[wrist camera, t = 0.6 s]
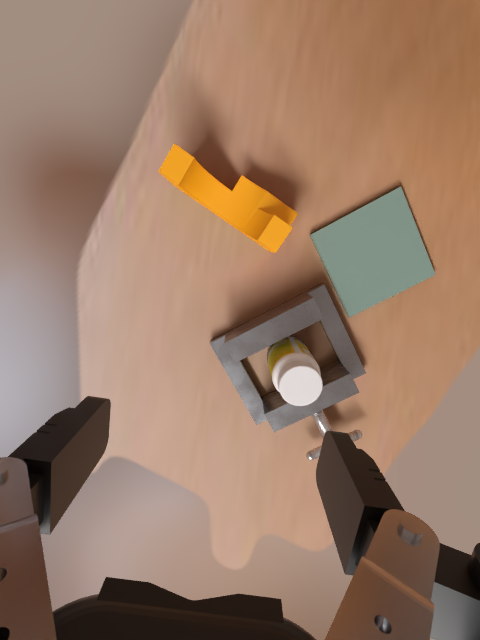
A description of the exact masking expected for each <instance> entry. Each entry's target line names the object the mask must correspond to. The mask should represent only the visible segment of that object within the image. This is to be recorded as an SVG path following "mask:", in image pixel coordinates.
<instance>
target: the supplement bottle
mask: <svg viewBox="0 0 480 640" xmlns="http://www.w3.org/2000/svg"><path fill="white" fill-rule="evenodd" d="M267 361H268V365H269V369H270V373H271V377H272V381H273V384H274V386H275V388H276V389H277V390H278V391H279V392H280V394H281V396H282V397H283V399H284V400H285V401H286V402H288V403H289V404H292V405H295V406H305V405H308V404H311V403H312V402H314V401H315V400H316V399H317V398H318V397H319V396H320V394H321V391H322V387H323V383H322V378H321V373H320V368H319V365H318V363H317V362H316V360H315V359H314V357H313V356H312V354H311V353H310V351H309V350H308V348H307V347H306V345H305V344H304V343H303V342H302V341H301V340H299V339H298V338H295V337H290V336H288V337H286V338H284V339H282V340H280V341H278V342H276V343H274V344H272V345H271V346H270V347H269V349H268V353H267Z"/></svg>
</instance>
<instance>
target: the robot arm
mask: <svg viewBox="0 0 480 640" xmlns="http://www.w3.org/2000/svg"><path fill="white" fill-rule="evenodd" d="M110 407H111V403H110V400H109V399H106V398H99V397H92V396H87V397H86V398H85V399H84V400H83V401H82V402H81V403H80V404H79V405H78V406H77V407H76V408H67V409H65V410H63V411H61V412H59V413H57V414H55V415H54V416H52V417H51V418H50V419H49V420H48V421H47V422H46V423H45V425H43V426H42V427H40V428H39V429H38V430H37V432H36V433H34V434H33V435H31V436H30V437H29V438H28V439H27V440H26V441H25V442H24V443H23V444H21V445H20V446H19V447H18V448H17V449H16V450H15V451H14V452H13V453H11V454H10V455H9V456H8V457H3V458H0V640H316V639H315V638H314V637H313V636H312V635H310V634H309V633H308V632H307V631H305V630H304V629H303V628H301V627H300V626H299V625H297V624H295V623H293V622H292V621H290V620H288V619H286V618H284V617H283V612H282V603H281V599H276V598H268V597H260V596H252V595H244V594H235V595H228V596H222V597H216V598H209V599H203V600H196V601H193V600H188V599H186V598H184V597H182V596H179V595H177V594H175V593H172V592H170V591H168V590H165V589H163V588H160V587H158V586H156V585H154V584H151V583H149V582H141V581H133V580H124V579H117V578H109V577H106V578H105V581H104V583H103V586H102V588H101V591H100V593H99V594H97V595H92V596H88V597H84V598H81V599H78V600H76V601H73V602H71V603H68V604H66V605H64V606H62V607H60V608H58V609H56V610H55V611H53V612H52V606H51V599H50V592H49V586H48V580H47V573H46V567H45V560H44V554H43V547H42V542H41V534H48V535H50V534H51V532H52V531H53V529H54V528H55V526H56V525H57V523H58V522H59V520H60V519H61V517H62V516H63V514H64V513H65V511H66V510H67V508H68V507H69V505H70V504H71V502H72V501H73V499H74V498H75V496H76V495H77V493H78V492H79V490H80V489H81V487H82V486H83V484H84V483H85V481H86V480H87V478H88V477H89V475H90V474H91V472H92V471H93V469H94V468H95V466H96V465H97V463H98V462H99V460H100V459H101V457H102V455H103V454H104V452H105V449H106V446H107V443H108V437H109V422H110ZM316 481H317V486H318V490H319V493H320V496H321V499H322V502H323V506H324V509H325V512H326V515H327V518H328V522H329V525H330V528H331V531H332V534H333V538H334V541H335V544H336V547H337V550H338V554H339V557H340V560H341V563H342V566H343V569H344V573H345V574H347V575H353V578H352V580H351V582H350V584H349V587H348V589H347V591H346V593H345V596H344V598H343V600H342V602H341V605H340V607H339V609H338V611H337V614H336V616H335V618H334V620H333V623H332V625H331V627H330V629H329V631H328V634H327V636H326V638H325V640H430V638H432V639H434V640H480V543H478V544H477V545H476V546H475V548H474V551H473V553H472V555H469V554H467V553H464V552H461V551H459V550H456V549H454V548H451V547H448V546H446V545H443V544H441V543H439V540H438V537H437V536H436V534H435V533H434V531H433V530H432V529H431V528H430V527H429V526H428V525H427V524H426V523H425V522H424V521H422V520H421V519H420V518H418V517H416V516H415V515H413V514H410V513H408V512H406V511H404V509H403V507H402V506H401V504H400V502H399V501H398V499H397V498H396V496H395V494H394V493H393V491H392V490H391V488H390V486H389V485H388V483H387V482H386V481H385V478H384V476H383V475H382V473H381V472H380V470H379V468H378V466H377V465H376V463H375V462H374V460H373V459H372V458H371V457H370V456H369V455H368V454H367V453H365V452H364V451H363V450H362V449H357V448H356V446H355V444H354V443H353V441H352V439H351V437H350V435H349V434H348V433H342V432H335V431H326V433H325V435H324V439H323V443H322V447H321V451H320V456H319V460H318V464H317V469H316Z"/></svg>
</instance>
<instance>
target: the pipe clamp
mask: <svg viewBox="0 0 480 640" xmlns="http://www.w3.org/2000/svg"><path fill="white" fill-rule="evenodd" d="M158 172H159V173H160V174H162V175H163V176H164V177H165V178H166V179H167V180H168V181H169V182H171V183H172V184H173V185H174V186H175V187H177V188H178V189H180V190H181V191H183V192H184V193H186V194H187V195H188V196H190V197H191V198H193V199H194V200H196V201H197V202H199V203H200V204H201V205H203V206H204V207H206V208H207V209H209V210H210V211H212V212H213V213H214V214H216V215H217V216H219V217H220V218H222V219H223V220H225V221H226V222H227V223H229V224H230V225H232V226H233V227H235V228H236V229H238V230H239V231H240V232H242V233H243V234H245V235H246V236H248V237H249V238H251V239H252V240H253V241H255V242H256V243H258V244H259V245H261V246H262V247H264V248H265V249H266V250H268V251H269V252H274V253H276V252H277V250H278V249H279V247H280V246H281V244H282V243H283V241H284V240H285V238H286V237H287V235H288V234H289V232H290V231H291V229H292V228H293V227H291V226H290V225H291V223H292V222H293V220H294V219H295V218H296V216H297V215H298V213H297V212H295V211H294V210H292V209H291V208H290V207H288V206H287V205H286V204H284V203H283V202H281V201H280V200H279V199H277V198H276V197H274V196H273V195H272V194H270V193H269V192H267V191H266V190H264V189H262V188H260V187H259V186H257V185H256V184H254V183H253V182H251V181H250V180H248V179H247V178H245V177H244V176H243V175H242V176H241V177H240V179H239V181H238V182H237V184H236V185H235V187H234V189H233V190H232V191H231V190H229V189H228V188H227V187H225V186H224V185H223V184H222V183H220V182H219V181H218V180H217V179H215V178H214V177H213V176H212V175H211V174H209V173H208V172H207V171H206V170H205V169H204V168H203V167H202V166H201V165H200V164H199V163H198V162H197V161H196V159H195V158H194V157H193V156H191V155H190V154H188V153H187V152H186V151H184V150H183V149H181V148H180V147H179V146H177V145H176V144H174V145H173V147H172V148H171V150H170V152H169V154H168V155H167V157H166V159H165V161H164V163H163V164H162V166H161V168H160V170H159V171H158Z"/></svg>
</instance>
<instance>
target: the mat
mask: <svg viewBox="0 0 480 640" xmlns="http://www.w3.org/2000/svg"><path fill="white" fill-rule="evenodd" d="M310 236H311V239H312V241H313V243H314V245H315V247H316V249H317V251H318V254H319V256H320V258H321V260H322V262H323V264H324V266H325V269H326V271H327V273H328V275H329V277H330V279H331V281H332V284H333V286H334V288H335V290H336V292H337V294H338V296H339V299H340V301H341V303H342V305H343V307H344V309H345V311H346V314H347V316H348V317H351V316H353V315H355V314H357V313H359V312H361V311H363V310H365V309H367V308H369V307H371V306H373V305H375V304H377V303H379V302H381V301H383V300H385V299H387V298H389V297H392V296H394V295H396V294H398V293H400V292H402V291H404V290H406V289H408V288H410V287H412V286H414V285H416V284H418V283H420V282H422V281H424V280H426V279H428V278H430V277H432V276H434V275H435V272H434V269H433V267H432V264H431V262H430V259H429V257H428V254H427V252H426V249H425V246H424V244H423V241H422V239H421V236H420V234H419V231H418V229H417V226H416V223H415V221H414V218H413V216H412V213H411V211H410V208H409V206H408V203H407V200H406V198H405V195H404V193H403V190H402V188H401V187H398V188H396V189H394V190H393V191H391V192H389V193H387V194H385V195H383V196H381V197H379V198H378V199H376V200H374V201H372V202H370V203H368V204H366V205H365V206H363V207H361V208H359V209H357V210H355V211H353V212H351V213H350V214H348V215H346V216H344V217H342V218H340V219H338V220H336V221H335V222H333V223H331V224H329V225H327V226H325V227H323V228H321V229H320V230H318V231H316V232H314V233H312V234H310Z"/></svg>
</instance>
